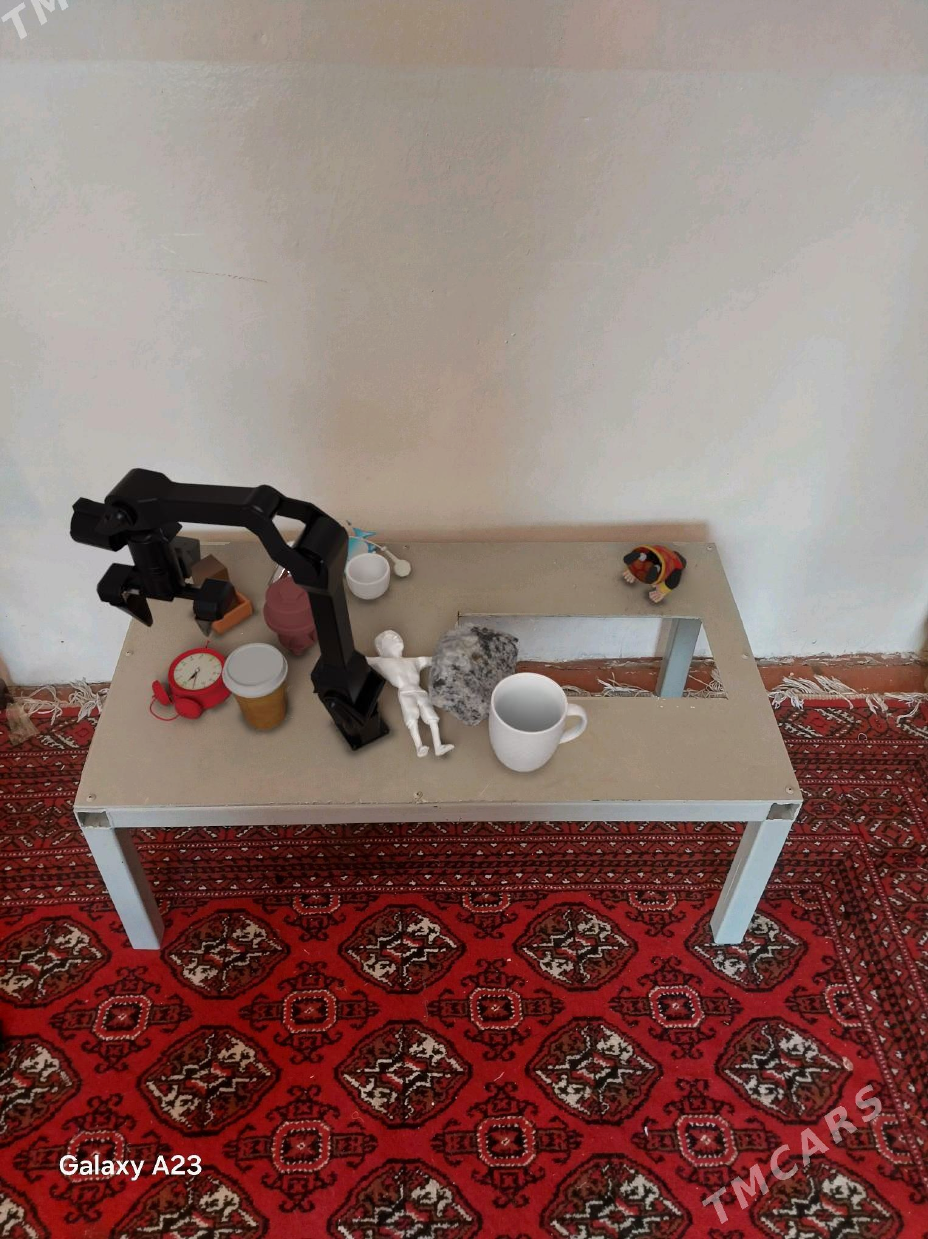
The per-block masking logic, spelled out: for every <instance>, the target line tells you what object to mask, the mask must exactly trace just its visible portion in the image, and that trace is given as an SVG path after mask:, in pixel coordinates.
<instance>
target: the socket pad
mask: <svg viewBox="0 0 928 1239" xmlns="http://www.w3.org/2000/svg"><path fill="white" fill-rule="evenodd" d="M235 591H236V595H235V597H234V599H235V602H236V606H237V607H236V608H235V609H233V610H232V611H230V612H229V613H227V614H226V615H225V616H224V618H223V619H221V620H219V621H215V622H213V625H212V630H214V631H215V632H216V633H217V634H218V635H223V634H224V633H226V632H228V630H230V629H232V628H233V627H234V626H236V625H237V624H239V623H240V622H242V621H244V620H246V619H247V618H248V617H250V616H252V615H253V614H254V611H253V606H252V603H251V600H249V598H247V597H246V596H245V595H243V594H242V593H240V591H238V590H237V589H236V588H235ZM191 603H192V604H193V601H192V602H191Z"/></svg>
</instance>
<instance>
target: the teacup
mask: <svg viewBox="0 0 928 1239" xmlns="http://www.w3.org/2000/svg"><path fill="white" fill-rule="evenodd" d="M345 579H346V582H347V585H348V588H349V590H350V591H351V592H352V594H353V595H354V596H356V597H357V598H360V599H363V600H374V599H377V598H380V597H381V596H382V595H384V594H385V593H386V592H387V590H388V588H389V585H390V580H391V567H390V563H389V562H388V560H387V558H385V557H384V556H382V555H380V554H379V553H377V551H376V550H373V551H372V552H371V553H363V554H359V555H357V556H355V557H353V558H352V559H351V560H350V561H349V562H348V564H347V566H346V574H345Z"/></svg>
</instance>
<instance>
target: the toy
mask: <svg viewBox="0 0 928 1239" xmlns="http://www.w3.org/2000/svg"><path fill="white" fill-rule="evenodd" d="M351 528H352V530H353V532H354V533H355V535H354V537H359V538H363V539H367V538H369V537H372V536H375V535H378V534H379V533H378V532H371V531H366V530H362V529H359V528H355V527H352V526H351ZM377 548H378V547H377V546H375V545H373V544H370V543H369V542H366V541H363V540H360V539H356V538H349V548H348V558H347V562H346V566H347V564H348V562H349V561H350V560H351V559H352V558H353V557H355V556H357V555H359V554H363V553H372V552H373V551H376V549H377ZM346 566H345V570H344V574H343V575H346Z"/></svg>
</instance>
